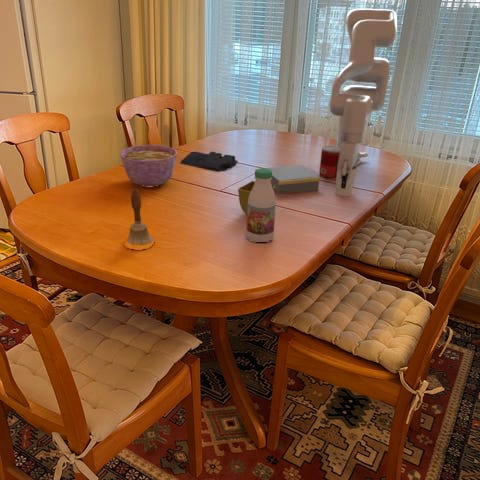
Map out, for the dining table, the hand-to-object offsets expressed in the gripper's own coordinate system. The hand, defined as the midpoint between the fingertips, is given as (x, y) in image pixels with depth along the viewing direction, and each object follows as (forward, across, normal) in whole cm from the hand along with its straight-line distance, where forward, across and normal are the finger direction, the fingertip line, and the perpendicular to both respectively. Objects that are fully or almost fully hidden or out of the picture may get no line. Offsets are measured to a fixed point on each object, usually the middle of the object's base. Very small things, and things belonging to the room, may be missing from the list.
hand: (344, 187), depth 162 cm
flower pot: (+3, +30, -23) cm, 38 cm away
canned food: (+2, -18, -9) cm, 20 cm away
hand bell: (+3, +63, -45) cm, 77 cm away
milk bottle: (+3, +45, -16) cm, 48 cm away
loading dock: (+2, 0, -20) cm, 20 cm away
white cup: (+2, 0, 0) cm, 3 cm away
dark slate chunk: (+3, -11, -58) cm, 59 cm away
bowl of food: (+3, +21, -67) cm, 70 cm away
